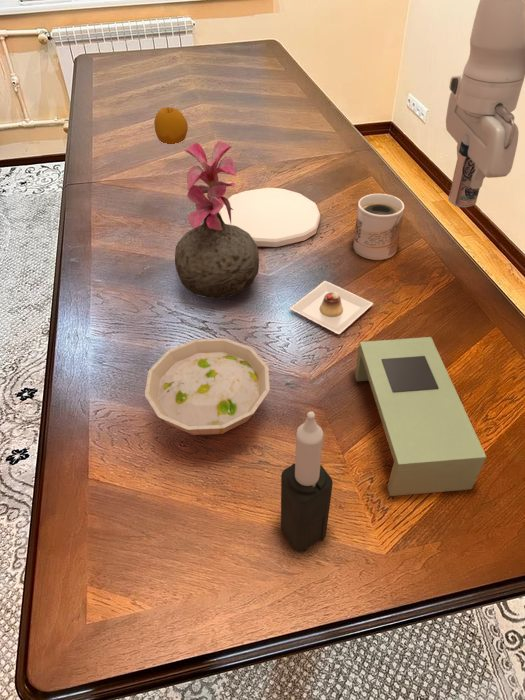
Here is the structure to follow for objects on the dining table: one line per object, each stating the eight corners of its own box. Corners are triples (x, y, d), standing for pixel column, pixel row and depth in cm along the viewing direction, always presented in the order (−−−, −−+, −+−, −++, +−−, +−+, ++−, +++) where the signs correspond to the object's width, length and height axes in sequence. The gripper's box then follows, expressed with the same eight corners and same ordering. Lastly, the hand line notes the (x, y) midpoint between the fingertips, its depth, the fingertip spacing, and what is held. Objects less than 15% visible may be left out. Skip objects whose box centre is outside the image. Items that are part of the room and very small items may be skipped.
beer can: (459, 211, 93) (476, 143, 85) (442, 199, 96) (456, 132, 88) (481, 205, 95) (500, 137, 86) (463, 193, 98) (480, 127, 89)
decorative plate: (337, 220, 123) (233, 240, 118) (336, 236, 126) (235, 256, 121) (298, 174, 141) (206, 190, 136) (298, 189, 144) (208, 205, 138)
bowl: (282, 383, 93) (282, 341, 86) (256, 477, 79) (254, 436, 72) (176, 367, 96) (169, 325, 89) (134, 454, 83) (121, 413, 76)
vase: (181, 318, 106) (158, 174, 85) (177, 267, 118) (156, 131, 98) (265, 308, 108) (262, 164, 87) (252, 259, 120) (248, 124, 99)
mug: (344, 253, 121) (348, 209, 114) (360, 227, 129) (366, 184, 121) (389, 264, 118) (397, 219, 110) (403, 237, 126) (412, 193, 118)
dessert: (288, 312, 107) (289, 293, 103) (324, 284, 113) (326, 265, 110) (338, 338, 101) (340, 319, 97) (373, 307, 107) (376, 288, 104)
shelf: (422, 370, 95) (431, 335, 89) (471, 489, 77) (487, 456, 72) (354, 375, 94) (359, 340, 88) (389, 496, 77) (398, 463, 71)
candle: (298, 555, 71) (305, 440, 53) (277, 525, 74) (277, 407, 57) (329, 535, 73) (345, 418, 55) (307, 507, 76) (316, 387, 58)
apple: (193, 141, 167) (189, 102, 159) (183, 154, 161) (178, 114, 152) (164, 139, 169) (158, 100, 161) (152, 152, 162) (146, 112, 154)
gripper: (539, 117, 75) (510, 207, 85) (484, 72, 90) (465, 152, 100) (494, 120, 75) (471, 209, 85) (447, 74, 90) (431, 154, 99)
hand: (467, 178), depth 92 cm, fingers closed on beer can, 5 cm apart
